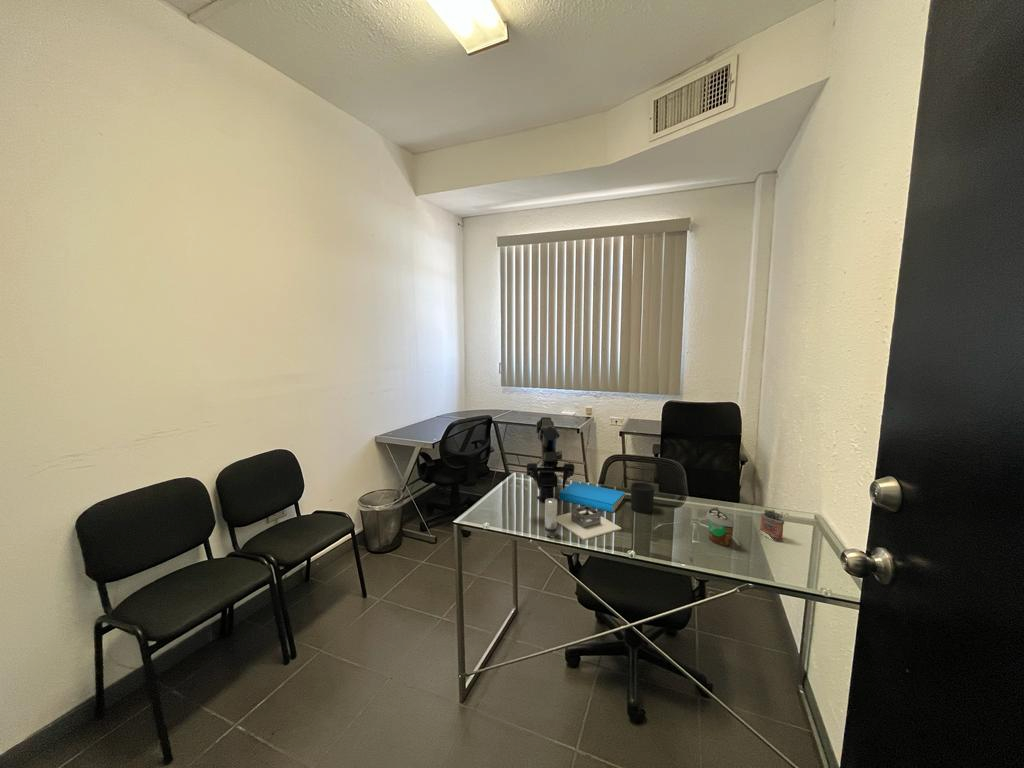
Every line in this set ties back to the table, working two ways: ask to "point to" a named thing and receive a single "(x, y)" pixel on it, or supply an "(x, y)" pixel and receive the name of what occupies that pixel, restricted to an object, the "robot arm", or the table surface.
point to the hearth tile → (587, 532)
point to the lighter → (772, 524)
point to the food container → (719, 527)
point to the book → (592, 496)
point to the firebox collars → (585, 516)
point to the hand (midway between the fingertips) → (551, 489)
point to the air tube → (550, 517)
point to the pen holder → (642, 497)
